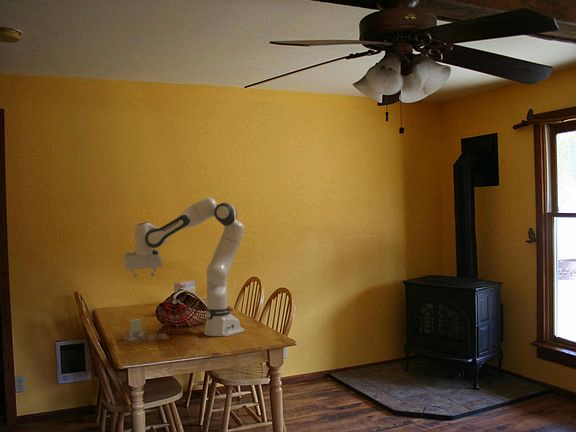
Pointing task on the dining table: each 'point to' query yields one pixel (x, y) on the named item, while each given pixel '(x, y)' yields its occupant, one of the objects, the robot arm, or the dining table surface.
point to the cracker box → (185, 286)
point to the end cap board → (143, 336)
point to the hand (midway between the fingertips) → (143, 276)
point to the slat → (136, 325)
